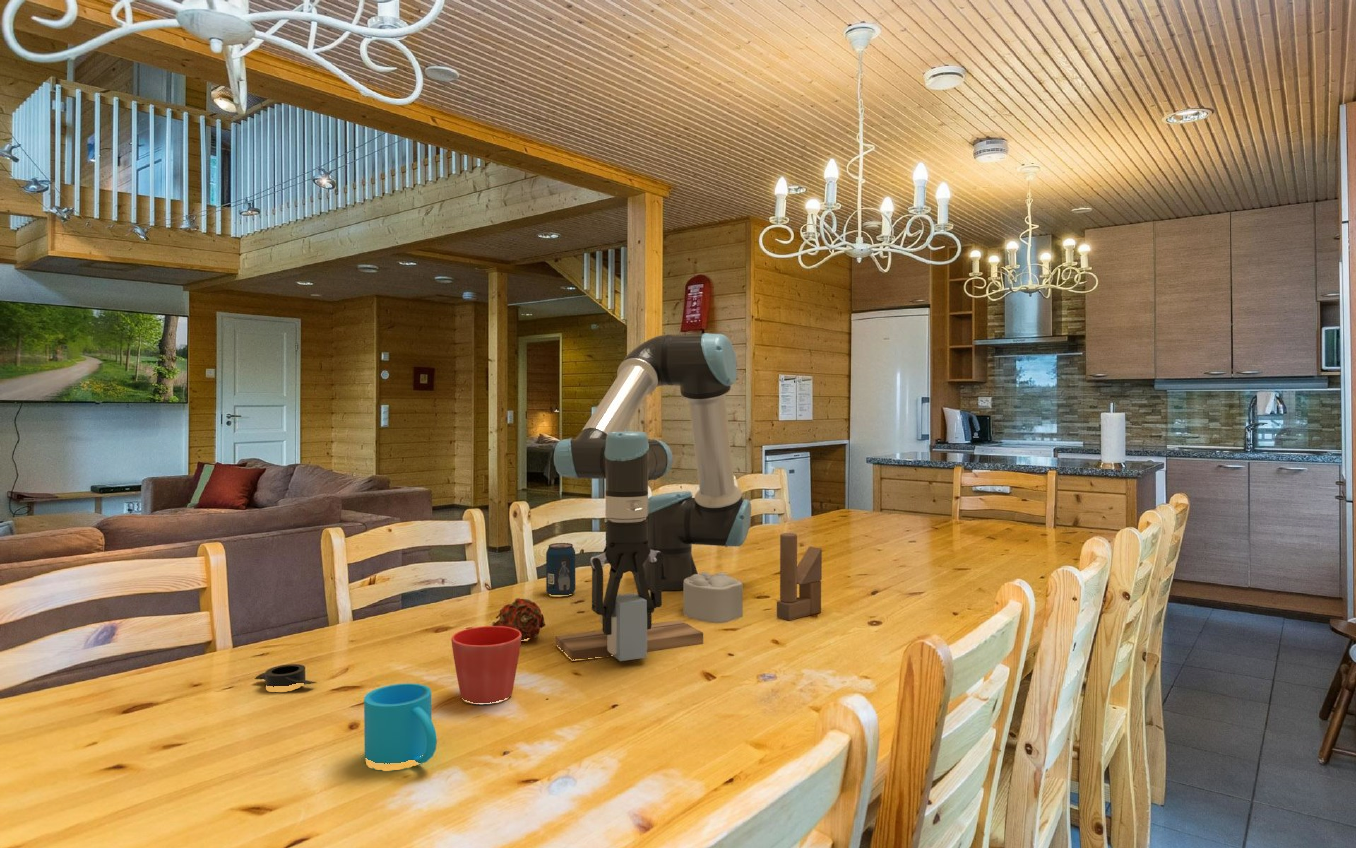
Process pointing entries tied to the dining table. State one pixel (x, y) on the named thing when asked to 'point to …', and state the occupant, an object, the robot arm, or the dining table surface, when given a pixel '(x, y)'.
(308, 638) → the dining table surface
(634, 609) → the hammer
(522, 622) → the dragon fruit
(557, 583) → the soda can
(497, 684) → the flower pot
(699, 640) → the board
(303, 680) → the black winged ring
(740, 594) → the paw mold
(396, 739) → the mug
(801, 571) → the wooden block
